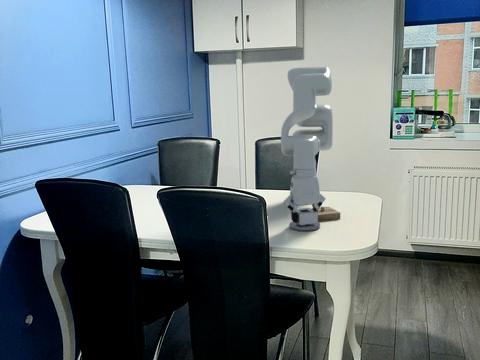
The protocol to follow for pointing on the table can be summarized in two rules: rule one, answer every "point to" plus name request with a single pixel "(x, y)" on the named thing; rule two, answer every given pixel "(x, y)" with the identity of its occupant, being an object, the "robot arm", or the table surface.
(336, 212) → the stand
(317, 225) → the hub
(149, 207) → the table surface
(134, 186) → the table surface
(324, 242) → the table surface
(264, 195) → the table surface
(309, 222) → the square hollow frame
